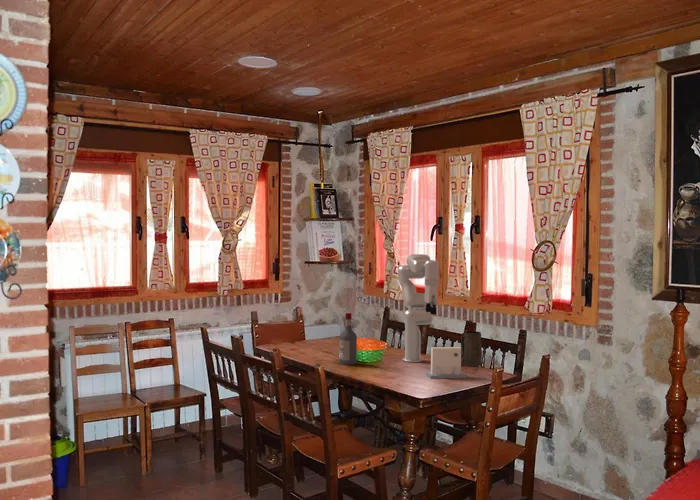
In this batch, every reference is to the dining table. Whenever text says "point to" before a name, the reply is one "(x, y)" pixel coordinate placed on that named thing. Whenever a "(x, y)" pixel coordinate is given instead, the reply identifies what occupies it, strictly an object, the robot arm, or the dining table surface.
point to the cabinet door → (445, 359)
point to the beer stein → (471, 348)
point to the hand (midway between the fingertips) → (430, 313)
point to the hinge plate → (438, 375)
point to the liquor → (348, 344)
